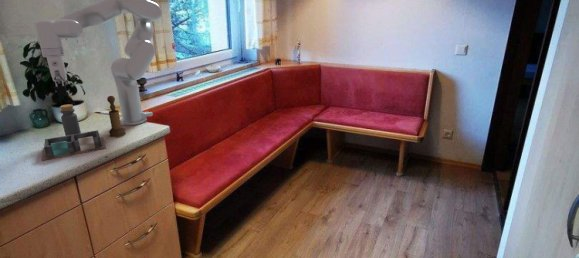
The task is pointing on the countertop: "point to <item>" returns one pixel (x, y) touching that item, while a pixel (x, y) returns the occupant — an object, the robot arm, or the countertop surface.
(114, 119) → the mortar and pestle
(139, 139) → the countertop surface
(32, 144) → the countertop surface
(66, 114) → the bottle
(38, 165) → the countertop surface
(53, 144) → the socket block
